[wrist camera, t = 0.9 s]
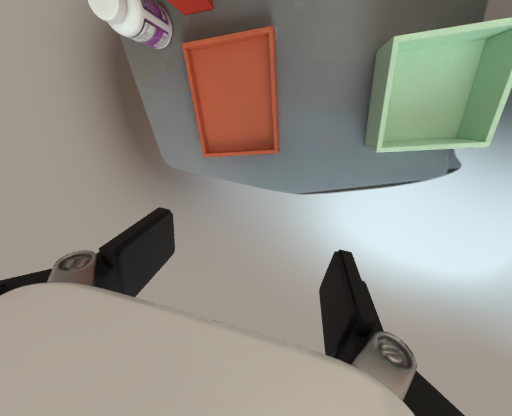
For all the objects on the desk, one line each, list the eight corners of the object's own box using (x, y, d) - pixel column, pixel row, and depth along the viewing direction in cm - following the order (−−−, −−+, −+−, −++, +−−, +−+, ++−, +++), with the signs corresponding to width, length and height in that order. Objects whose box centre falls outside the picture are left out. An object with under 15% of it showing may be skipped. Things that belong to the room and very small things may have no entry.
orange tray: (188, 47, 30) (181, 43, 29) (274, 30, 28) (272, 25, 26) (207, 155, 37) (203, 157, 35) (279, 151, 34) (278, 153, 33)
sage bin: (376, 50, 26) (394, 36, 21) (490, 33, 24) (540, 12, 19) (364, 146, 31) (375, 152, 26) (456, 140, 29) (489, 146, 24)
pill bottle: (138, 3, 29) (72, -41, 21) (171, 5, 29) (117, -41, 20) (144, 49, 32) (86, 26, 23) (175, 51, 31) (127, 29, 23)
